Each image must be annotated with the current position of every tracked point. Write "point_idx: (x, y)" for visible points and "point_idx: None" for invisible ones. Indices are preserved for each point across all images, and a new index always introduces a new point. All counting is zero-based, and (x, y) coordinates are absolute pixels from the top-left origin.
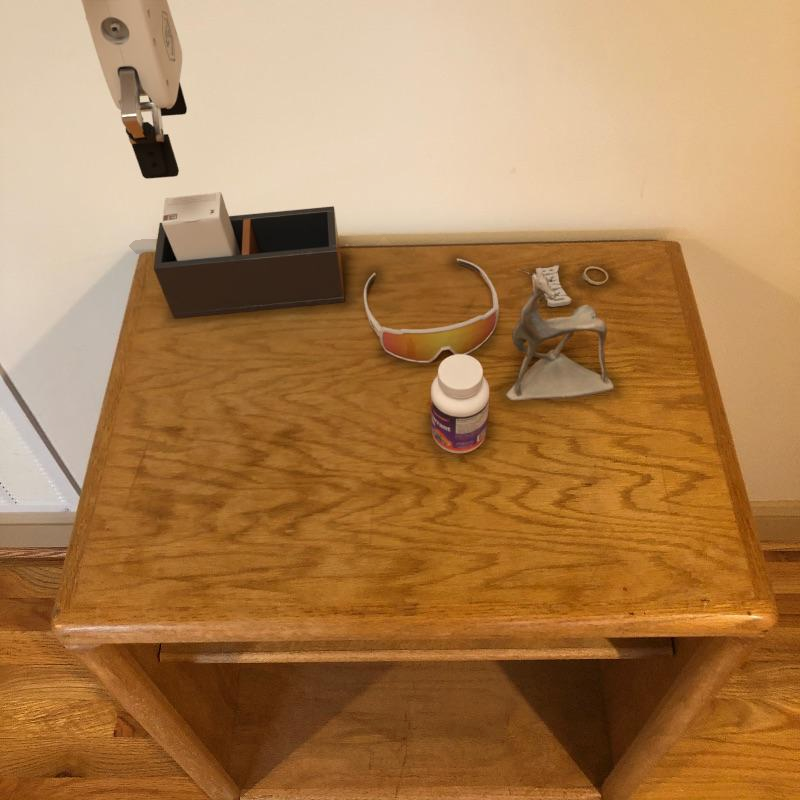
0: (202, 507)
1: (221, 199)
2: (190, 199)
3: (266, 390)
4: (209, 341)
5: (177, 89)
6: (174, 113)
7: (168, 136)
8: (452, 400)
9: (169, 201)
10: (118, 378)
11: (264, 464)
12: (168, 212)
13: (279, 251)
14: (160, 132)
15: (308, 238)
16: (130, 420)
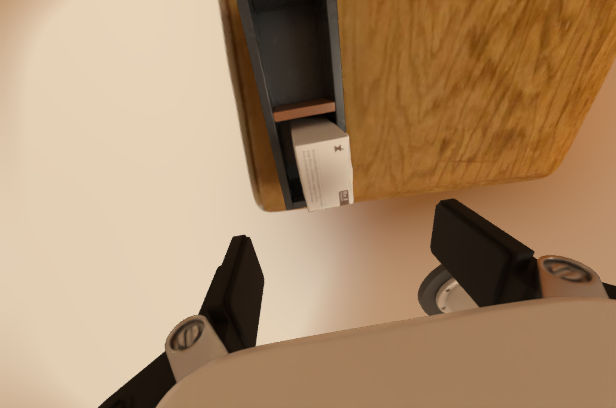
0: (516, 107)
1: (306, 142)
2: (313, 182)
3: (422, 74)
4: (362, 139)
5: (506, 317)
6: (254, 253)
7: (519, 250)
8: None
9: (316, 206)
10: (389, 196)
11: (497, 61)
12: (335, 202)
13: (331, 58)
14: (596, 278)
15: (259, 38)
16: (427, 178)
